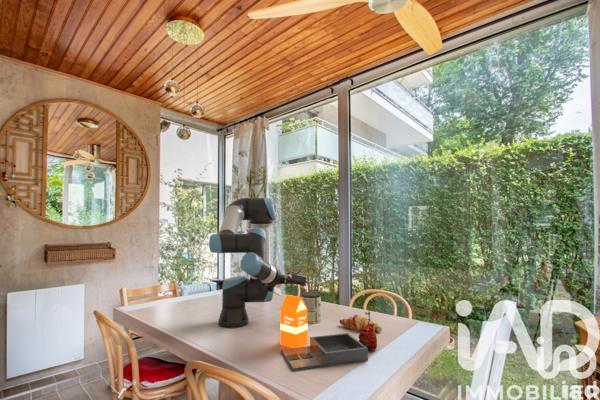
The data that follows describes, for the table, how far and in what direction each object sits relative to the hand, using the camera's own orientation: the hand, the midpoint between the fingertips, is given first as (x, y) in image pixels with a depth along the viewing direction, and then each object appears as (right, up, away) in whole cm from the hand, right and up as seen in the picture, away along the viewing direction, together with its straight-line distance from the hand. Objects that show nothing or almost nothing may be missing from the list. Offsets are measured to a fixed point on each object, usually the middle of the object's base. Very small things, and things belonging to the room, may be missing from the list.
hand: (293, 290), depth 140 cm
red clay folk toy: (+31, -20, -15) cm, 40 cm away
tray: (+12, -19, -22) cm, 32 cm away
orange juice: (0, -20, -10) cm, 23 cm away
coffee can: (+9, -23, +23) cm, 34 cm away
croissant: (+32, -22, +9) cm, 40 cm away
